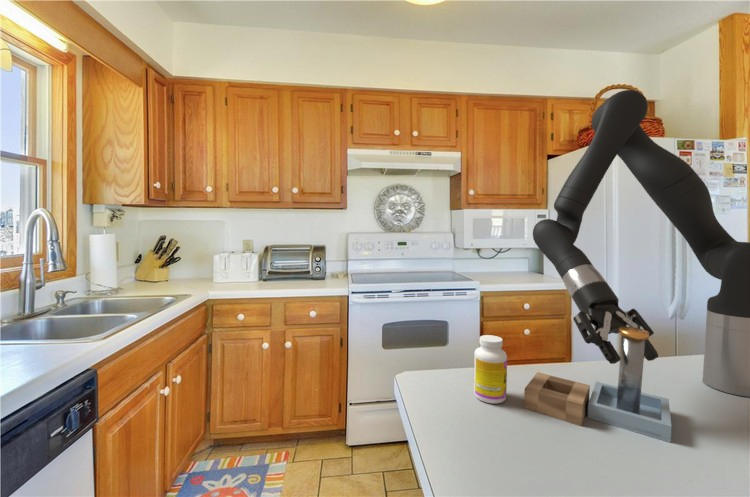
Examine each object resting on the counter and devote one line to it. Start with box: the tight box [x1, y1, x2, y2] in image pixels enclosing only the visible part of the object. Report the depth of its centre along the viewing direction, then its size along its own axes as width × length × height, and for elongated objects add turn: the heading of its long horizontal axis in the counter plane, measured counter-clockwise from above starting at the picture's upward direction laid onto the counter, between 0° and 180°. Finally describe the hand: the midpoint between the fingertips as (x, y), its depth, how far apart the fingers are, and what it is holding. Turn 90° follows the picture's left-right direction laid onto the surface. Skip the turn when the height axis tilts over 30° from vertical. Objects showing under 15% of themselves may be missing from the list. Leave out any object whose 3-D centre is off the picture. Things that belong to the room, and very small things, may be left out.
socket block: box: [523, 372, 591, 427], centre depth 69 cm, size 10×10×4 cm
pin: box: [616, 326, 650, 415], centre depth 65 cm, size 5×5×16 cm
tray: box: [587, 381, 672, 444], centre depth 66 cm, size 12×12×3 cm
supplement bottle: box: [473, 334, 508, 405], centre depth 72 cm, size 7×7×13 cm
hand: (635, 360), depth 64 cm, fingers open, 8 cm apart
